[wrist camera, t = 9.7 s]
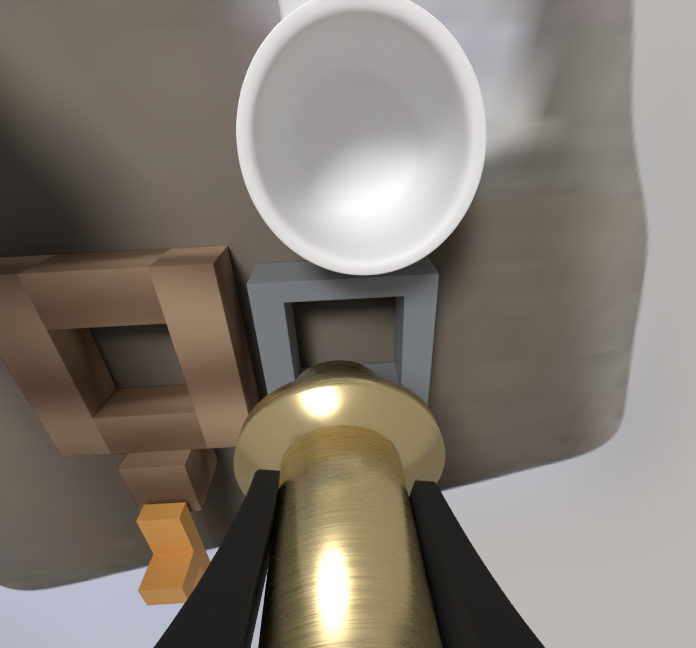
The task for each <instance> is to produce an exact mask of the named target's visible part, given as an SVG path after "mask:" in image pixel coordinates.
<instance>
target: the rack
mask: <svg viewBox="0 0 696 648" xmlns="http://www.w3.org/2000/svg"><path fill="white" fill-rule="evenodd" d="M438 281H439V273H438V271H437V270H436V268H435V267H434V265H433V264H432V262H431V261H430V259H429V258H428V256H425V257H424V258H422V259H420V260H419V261H417V262H415V263H413V264H411V265H409V266H407V267H404V268H401V269H399V270H395V271H392V272H388V273H383V274H377V275H350V274H344V273H339V272H335V271H331V270H328V269H325V268H323V267H320V266H318V265H316V264H314V263H312V262H310V261H302V262H283V263H264V264H256V266H255V268H254V270H253V272H252V274H251V276H250V278H249V280H248V282H247V289H248V294H249V300H250V305H251V310H252V315H253V320H254V325H255V331H256V336H257V341H258V346H259V351H260V356H261V362H262V367H263V372H264V377H265V382H266V387H267V393H268V395H269V394H270V393H272V392H273V391H275V390H276V389H278V388H280V387H282V386H284V385H286V384H288V383H290V382H293V381H295V380H296V379H297V378H298V377H299V376H300V375H301V374H302V373H303V372H304V371H306V370H307V369H309V368H311V367H304V368H300V360H299V352H298V345H297V337H296V329H295V322H294V314H293V306H292V302H303V301H322V300H340V299H359V298H378V297H396V306H395V346H394V363H376V364H361V365H363V366H365V367H367V368H369V369H370V370H372V371H373V372H374V373H375V374H376V375H377V376H380V377H383V378H386V379H389V380H392V381H394V382H396V383H399V384H401V385H403V386H404V387H406V388H408V389H409V390H411V391H412V392H414V393H415V394H416V395H417V396H419V397H420V398H421V399H422V400H423V401H424V402H425V403H426V405H427V406H428V396H429V385H430V373H431V362H432V350H433V339H434V327H435V316H436V304H437V293H438Z"/></svg>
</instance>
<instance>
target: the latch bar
mask: <svg viewBox="0 0 696 648" xmlns="http://www.w3.org/2000/svg"><path fill="white" fill-rule="evenodd" d="M136 522H137V524H138V526H139V528H140V529H141V531H142V533H143V535H144V537H145V539H146V541H147V542H148V544H149V546H150V548H151V550H152V552H153V556H152V558H151V561H150V563H149V566H148V568H147V571H146V573H145V576H144V578H143V580H142V583H141V585H140V588H139V590H138V591H139V593H140V594H141V596H142V598H143V599H144V601H145V602H146V604H147V605H158V604H174V603H185V602H186V601H187V599H188V598H189V596H190V594H191V593H192V591H193V590H194V588H195V587H196V585H197V584H198V582H199V580H200V579H201V577H202V576H203V574H204V572H205V571H206V569H207V567H208V566H209V564H210V560H209V558H208V555H207V553H206V550H205V548H204V545H203V543H202V541H201V538H200V536H199V533H198V531H197V528H196V526H195V524H194V521H193V519H192V516H191V514H190V512H189V509H188V507H187V504H186V502H181V503H164V504H147V505H144V506H143V508H142V510H141V512H140V514H139V516H138V518H137V520H136Z"/></svg>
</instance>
